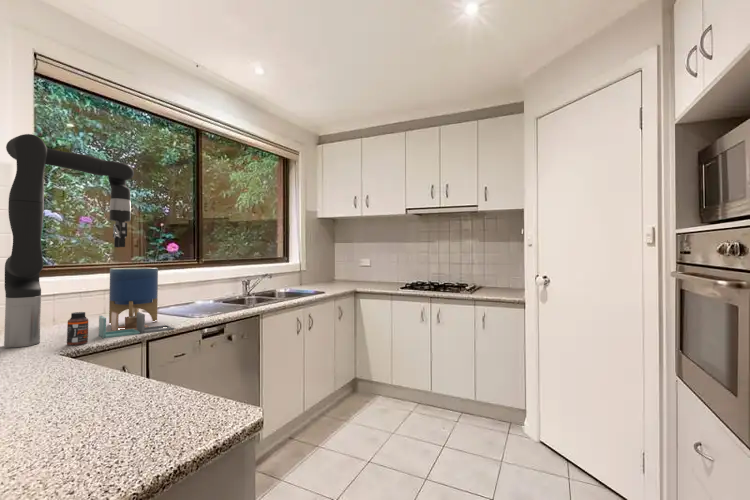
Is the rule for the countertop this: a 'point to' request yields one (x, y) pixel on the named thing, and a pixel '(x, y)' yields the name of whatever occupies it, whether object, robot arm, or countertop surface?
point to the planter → (133, 291)
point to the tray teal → (113, 333)
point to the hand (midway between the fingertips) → (119, 247)
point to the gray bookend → (143, 329)
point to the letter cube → (131, 322)
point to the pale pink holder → (115, 322)
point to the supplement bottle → (77, 329)
